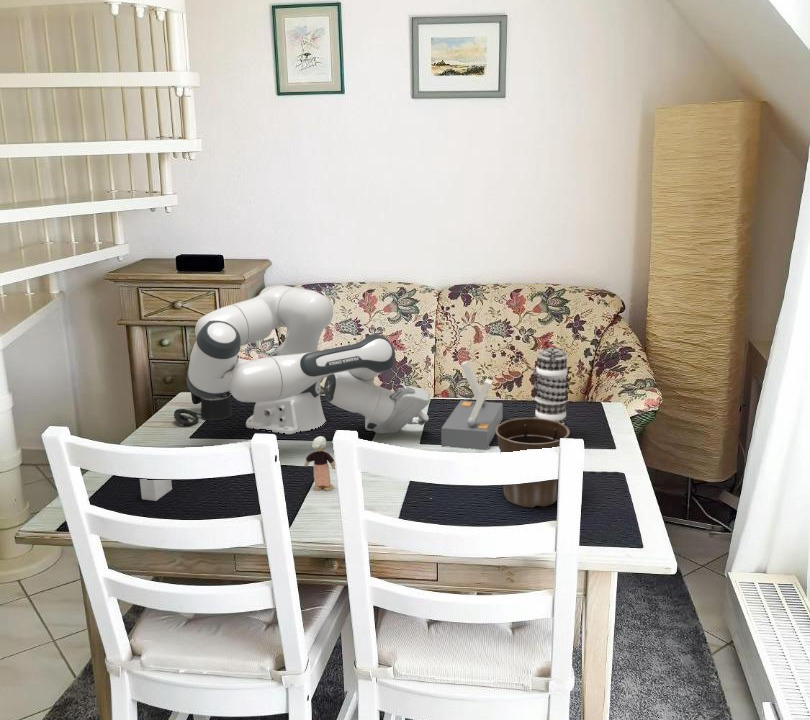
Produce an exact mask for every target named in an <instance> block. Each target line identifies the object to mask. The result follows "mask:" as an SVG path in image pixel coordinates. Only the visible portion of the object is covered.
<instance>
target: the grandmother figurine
mask: <svg viewBox="0 0 810 720" xmlns="http://www.w3.org/2000/svg"><path fill="white" fill-rule="evenodd" d="M311 443H312V445H311V447H312V448H313V449H314V450H315V451H312V452H310V453H309V454H308V455H307V456H306V457H305V460H304V463H303V466H305V467H308V466H309V464H310V462H311V463H312V462H313V481H314V490H315V491H321V490H322V489H323V491H330V490H333V489H335V487H334V485H333V484H332V482H331V474H330V466H331V467H332V469H331V470H336V469H335V465H336V463H335V459H334V458H333V457H332V455H331V454H330V453H329V452H327V451H325V450H326V446H327V440H326V438H325V436H321V435H320V436H317V437H316V438H314V439H313V441H312V442H311ZM329 464H330V466H329Z"/></svg>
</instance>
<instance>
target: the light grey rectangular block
mask: <svg viewBox="0 0 810 720" xmlns="http://www.w3.org/2000/svg"><path fill="white" fill-rule="evenodd" d="M139 483H140V484H139V485H140V494H141V499H142V500H146V501H153V502H154V501H155V502H157V501H158V500H159V499H161V498H163V496H165V495H166V494H167V493H169V492H171V490H173V486H172V479H171V480H147V479H140V478H139Z"/></svg>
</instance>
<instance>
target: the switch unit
mask: <svg viewBox="0 0 810 720" xmlns="http://www.w3.org/2000/svg"><path fill="white" fill-rule="evenodd" d="M475 403H476V401H475V400H460V401H459V403H457V406H455V408H454V409H453V411H452V413H450V415H449V416H448V418H447V419H446V421H445V422H444V424H443V425H442V427H441V428H440V429H441V430H440V431H441V435H440V437H441V438H440V439H441V441H440V442H441V447H445V446H450V447H449V448H457V447H458V448H459V449H469V448H471V450H481V449H487V448H488V449H489V447H488V446H490V445H491V443H492V441H493V439H494V436H495V435H496V433H495V429H496V427H497V426H498V425H499V424H500V423H502V422H503V415H504V414H503V411H504V409H503V406H504V404H503V402H494V401H493V402H491V401H490V402H489V401H484V403H483V405H482V407H481V409H480V412H479V414H478V416H477V420H476V422H475V424H474V425H473V426H469V425H468V424H467V420H468V419H469V417H470V415H471V413H472V410H473V408H474V406H475ZM501 421H502V422H501ZM490 442H491V443H490ZM489 444H490V445H489ZM474 448H475V449H474ZM488 449H487V450H488Z"/></svg>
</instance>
